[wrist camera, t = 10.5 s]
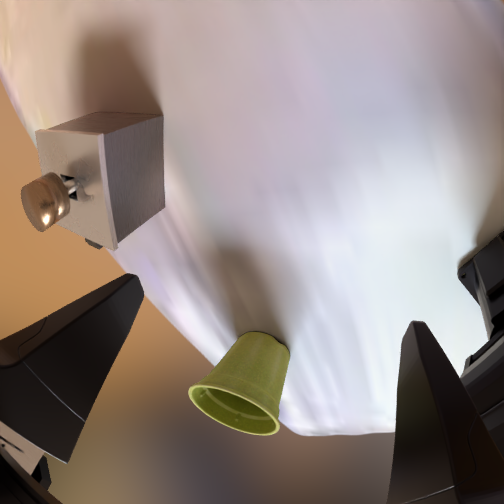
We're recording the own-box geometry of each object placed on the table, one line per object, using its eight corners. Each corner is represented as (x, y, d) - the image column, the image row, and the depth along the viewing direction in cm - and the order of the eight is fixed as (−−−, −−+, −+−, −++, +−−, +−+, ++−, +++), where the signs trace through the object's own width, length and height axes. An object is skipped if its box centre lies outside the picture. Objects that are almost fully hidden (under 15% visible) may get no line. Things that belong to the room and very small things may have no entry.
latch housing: (165, 113, 20) (97, 135, 15) (167, 228, 27) (118, 271, 21) (95, 110, 22) (35, 131, 17) (105, 207, 29) (58, 239, 23)
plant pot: (214, 314, 31) (172, 375, 24) (299, 323, 27) (267, 400, 20) (238, 366, 35) (207, 421, 29) (309, 377, 31) (286, 442, 25)
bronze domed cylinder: (130, 145, 21) (38, 190, 14) (132, 184, 23) (50, 237, 16) (102, 141, 22) (17, 182, 15) (106, 177, 24) (28, 224, 17)
